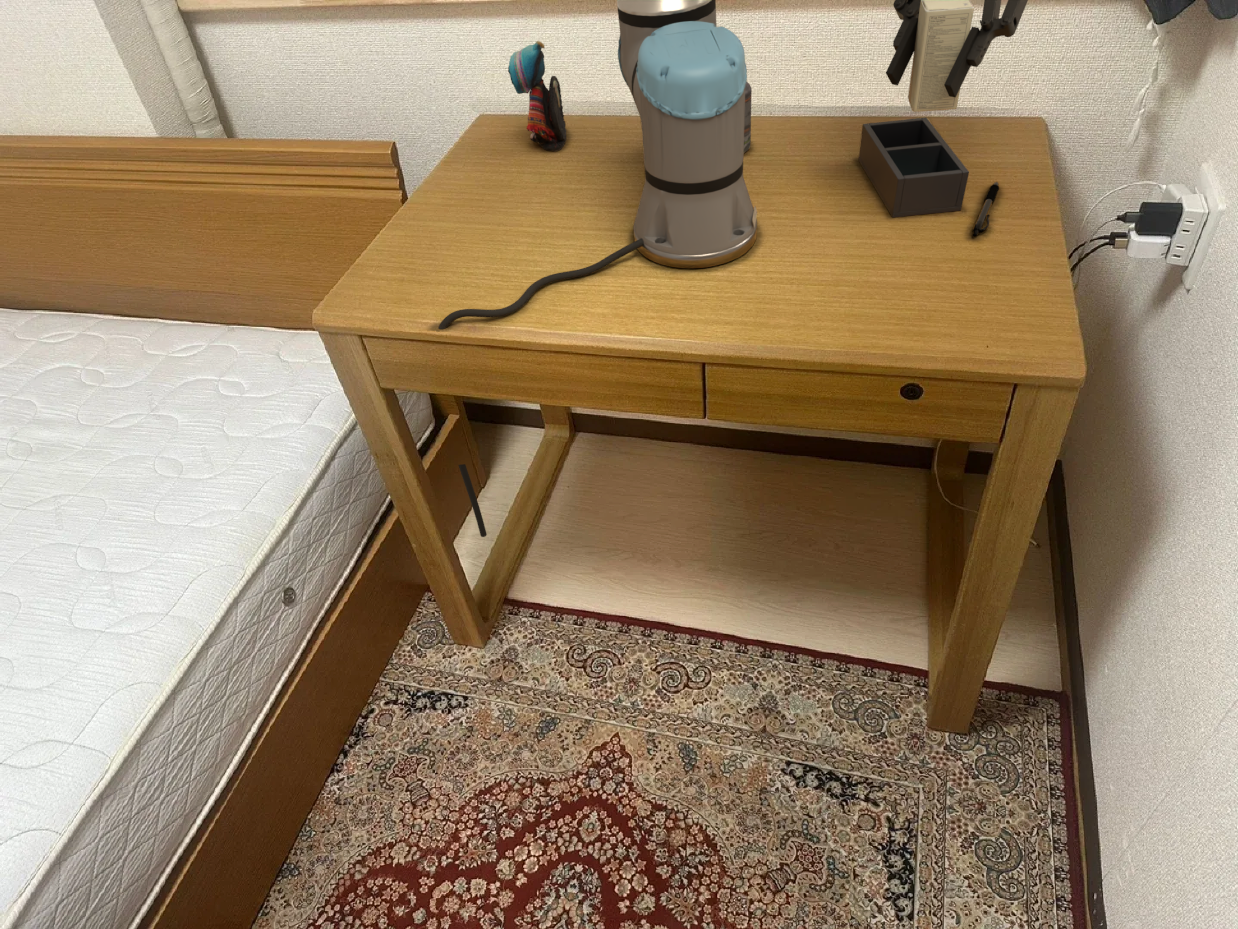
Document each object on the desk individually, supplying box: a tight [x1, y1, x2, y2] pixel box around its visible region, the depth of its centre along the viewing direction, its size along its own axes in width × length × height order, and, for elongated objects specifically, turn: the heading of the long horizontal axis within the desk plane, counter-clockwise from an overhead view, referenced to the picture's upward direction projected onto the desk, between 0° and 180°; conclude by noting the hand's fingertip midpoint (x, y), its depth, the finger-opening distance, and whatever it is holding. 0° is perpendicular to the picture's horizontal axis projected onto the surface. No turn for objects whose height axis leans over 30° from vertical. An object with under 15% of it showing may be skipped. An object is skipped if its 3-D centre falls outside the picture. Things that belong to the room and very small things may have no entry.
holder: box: [858, 116, 970, 218], centre depth 110 cm, size 9×16×5 cm, turn 3°
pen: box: [971, 181, 1000, 238], centre depth 105 cm, size 14×2×1 cm, turn 153°
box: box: [907, 0, 975, 113], centre depth 96 cm, size 5×4×11 cm
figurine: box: [507, 40, 567, 152], centre depth 126 cm, size 10×7×15 cm
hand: (920, 84), depth 96 cm, fingers closed on box, 6 cm apart
